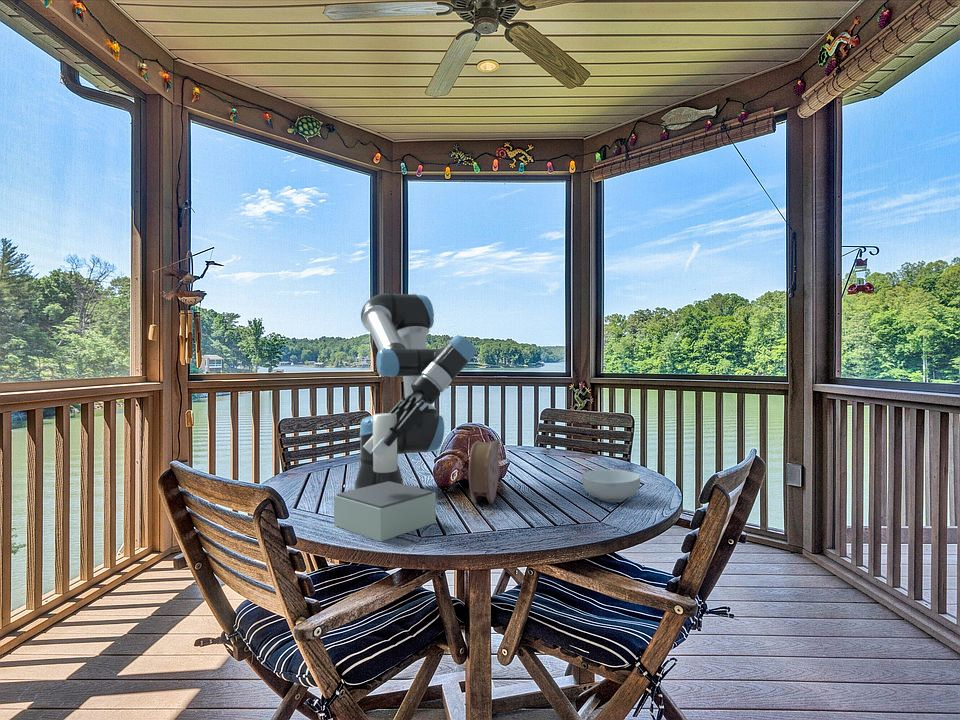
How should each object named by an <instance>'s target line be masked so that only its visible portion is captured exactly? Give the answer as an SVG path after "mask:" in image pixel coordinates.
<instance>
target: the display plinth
mask: <svg viewBox="0 0 960 720" xmlns="http://www.w3.org/2000/svg"><path fill="white" fill-rule="evenodd" d="M436 494H437V493H435V492H434V491H433V490H428V489H424V488H419V487H415V486H411V485H406V484H404V483H403V484H399V483H394V482H390V481H388V482H384V483H379V484H375V485H371V486H367V487H363V488H359V489H355V488H354V489H351V490H347V491H343V492H337V493H336V495H333V526H334V525H337V526H339V527H338V528H340V527H341V528H340V529H342V528H344V529H343V530H345V529H347V530H346V531H348V530H349V531H348V532H351V533H354V534H358V535H360V536H363V537H366V538H369V539H371V540H375V541H378V542H384V541H386V540H390V539H392V538H395V537H398V535H399V536H401V535H404V534H406V533H407V534H408V533H411V532H413V531H416V530H418V529H422V528H424V527H428V526H430V525H433V524H435V523H437V522H436V519H437V518H436V517H437V514H436V510H437V509H436V506H437V505H436V503H437V502H436V501H437V500H436V497H437V495H436ZM337 526H336V527H337Z"/></svg>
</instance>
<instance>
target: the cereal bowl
mask: <svg viewBox="0 0 960 720" xmlns="http://www.w3.org/2000/svg"><path fill="white" fill-rule="evenodd" d="M581 478H582V481H581V482H582V486H583V488H584V490H585V491H586V493H587V494H589V495H590V496H591V497H594V498H596V499H598V500H599V501H601V502H604V501H606V503H620V502H621V501H622V502H624V501H626V500H627V499H630V498H632V497H633V496H635V495H636V494H637V493H638V491H639V490H640V486H641V476H640V475H639V474H638V473H635V472H633V471H627V470H622V469H620V470H619V469H606V468H605V469H593V470H588V471H585V472H583V473H582V476H581Z"/></svg>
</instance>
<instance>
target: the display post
mask: <svg viewBox="0 0 960 720" xmlns="http://www.w3.org/2000/svg"><path fill="white" fill-rule="evenodd" d="M372 416H373V448H374V447H375V446H376V445H377V444H378V443H379V442H380V440H381V439H382V438H383V437H384V436H385V435H386V434H387V432H388V431H391V430H390V428H391V427H393V428H394V426H395V425H396V423H397V414H392V413H389V412H388V413H386V412H385V413H374V414H372ZM391 432H392V431H391ZM397 459H398V456H397V439H396V440H395V442H394V443H393V444H392V445H391V446H390V447H389V448H388V450H387V451H386V452H385V453H384V454H383V455H382V457H381V458H379V457H378V456H377V455H375V454H374V453H373V471H374V472H378V473H389V472H394V471H397Z"/></svg>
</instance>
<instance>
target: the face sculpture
mask: <svg viewBox="0 0 960 720" xmlns="http://www.w3.org/2000/svg"><path fill="white" fill-rule="evenodd" d="M499 448H500V439H498V438H497V439H494V440H493V441H490V442H485V441H484V442H482V441H481V440H477V441H475V442H473V444H472V446H471V449H470V453H469V458H468V459H469V461H468V484H469V490H470V491H469V492H470V494H471V499H472V501H473V502H474V503H475V504H477V503H479V502H480V501H481V500H482V498H487V501H488V504H492V503H494V501H495V498H496V496H497V489H498V485H499V480H500V479H499V478H500V476H501V471H500V470H501V469H500V462H499V459H500V458H499V457H500V456H499Z"/></svg>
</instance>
